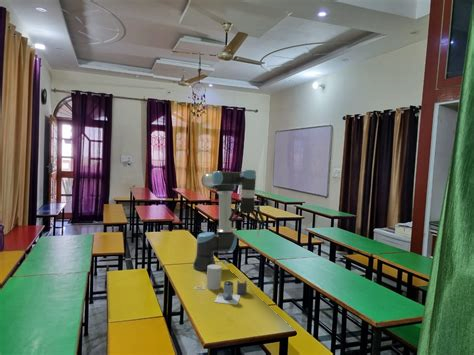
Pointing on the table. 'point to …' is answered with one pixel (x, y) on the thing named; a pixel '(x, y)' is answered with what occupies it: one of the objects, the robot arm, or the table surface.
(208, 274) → the cup
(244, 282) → the relay block
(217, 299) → the mat
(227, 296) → the cylinder
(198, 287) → the label card
